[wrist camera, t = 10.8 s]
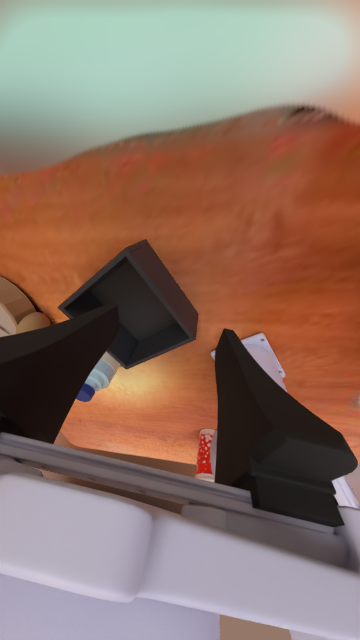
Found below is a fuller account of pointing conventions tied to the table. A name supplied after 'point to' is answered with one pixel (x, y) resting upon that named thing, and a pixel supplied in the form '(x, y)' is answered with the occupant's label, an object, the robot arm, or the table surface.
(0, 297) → the alarm clock
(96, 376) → the bottle
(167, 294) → the bin
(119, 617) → the robot arm
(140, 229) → the table surface
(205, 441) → the beverage cup
